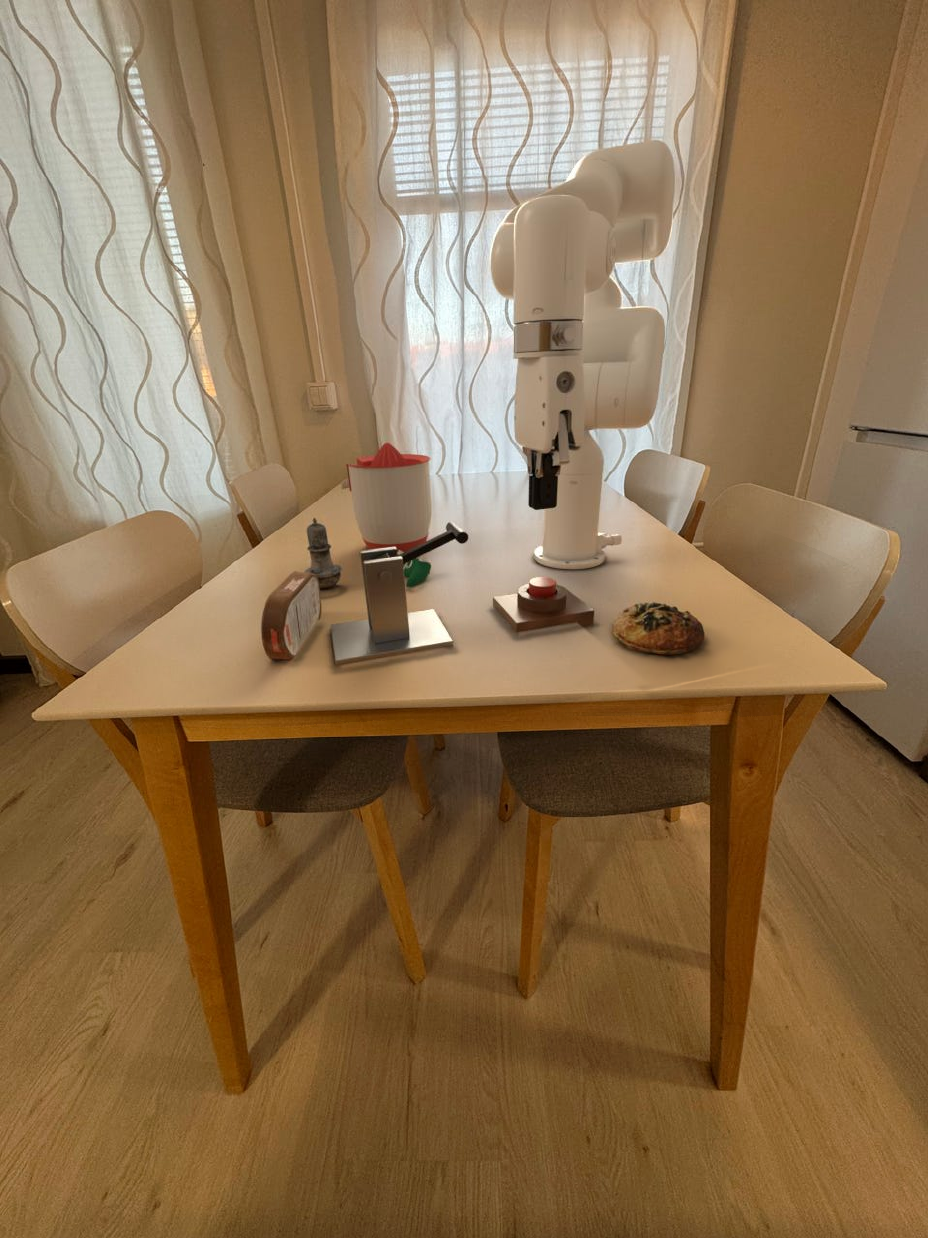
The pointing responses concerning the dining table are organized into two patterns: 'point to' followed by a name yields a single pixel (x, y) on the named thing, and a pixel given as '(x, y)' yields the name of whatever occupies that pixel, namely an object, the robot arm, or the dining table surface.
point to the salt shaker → (321, 557)
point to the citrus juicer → (391, 498)
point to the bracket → (386, 616)
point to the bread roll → (658, 629)
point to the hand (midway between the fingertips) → (542, 507)
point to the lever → (433, 543)
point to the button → (542, 587)
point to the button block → (542, 609)
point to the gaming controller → (416, 570)
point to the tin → (290, 615)
